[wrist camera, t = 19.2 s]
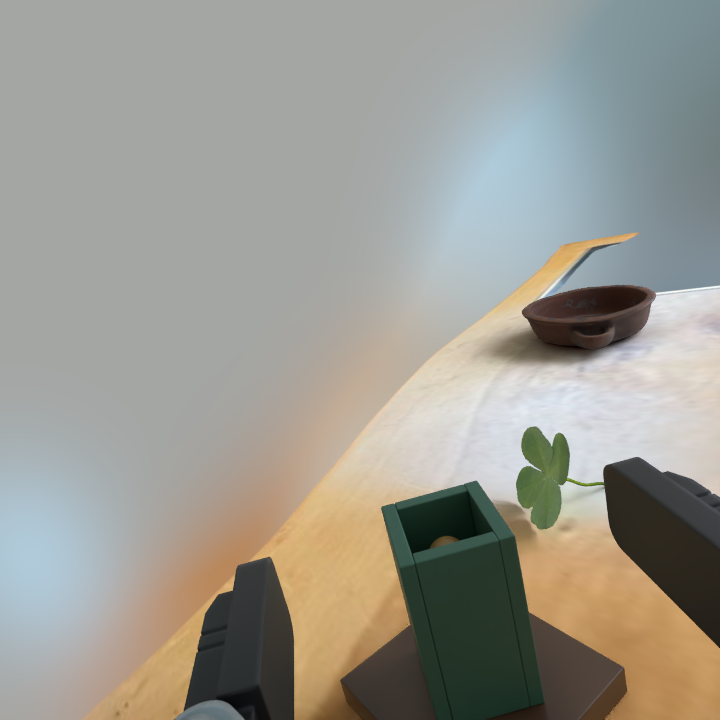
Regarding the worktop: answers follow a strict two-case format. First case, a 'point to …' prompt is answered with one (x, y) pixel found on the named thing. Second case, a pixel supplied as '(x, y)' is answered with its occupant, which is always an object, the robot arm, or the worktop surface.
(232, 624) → the robot arm
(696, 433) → the worktop surface
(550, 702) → the brown peg stand
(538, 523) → the green leafy piece
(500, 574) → the sleeve
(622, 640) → the worktop surface
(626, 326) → the dish
